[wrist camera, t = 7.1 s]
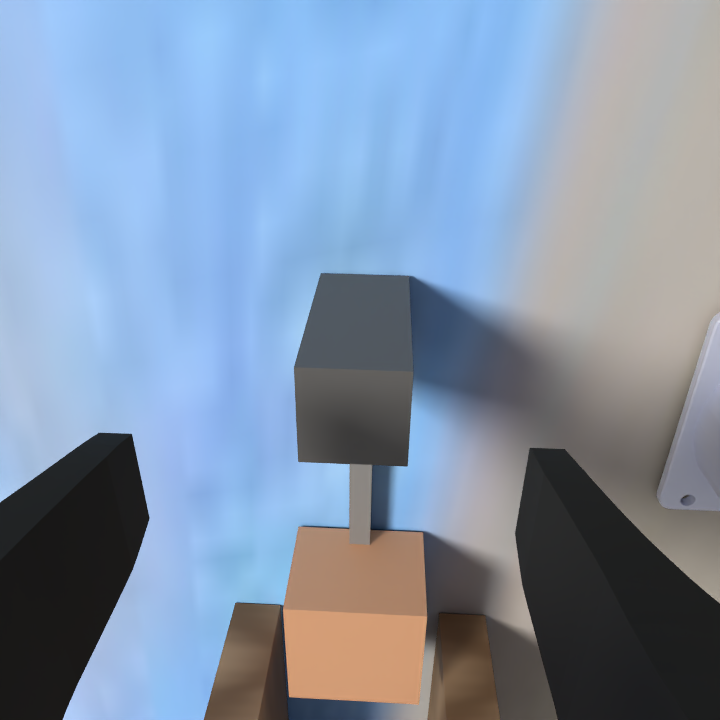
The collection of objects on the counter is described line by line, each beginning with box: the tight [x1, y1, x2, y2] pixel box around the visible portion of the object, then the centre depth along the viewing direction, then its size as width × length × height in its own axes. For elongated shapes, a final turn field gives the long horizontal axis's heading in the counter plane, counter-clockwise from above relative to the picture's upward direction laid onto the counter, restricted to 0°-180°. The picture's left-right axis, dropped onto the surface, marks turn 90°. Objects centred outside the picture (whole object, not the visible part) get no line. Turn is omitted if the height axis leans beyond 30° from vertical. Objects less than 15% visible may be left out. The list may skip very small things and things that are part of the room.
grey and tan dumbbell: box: [283, 273, 427, 704], centre depth 21 cm, size 5×16×6 cm, turn 179°
